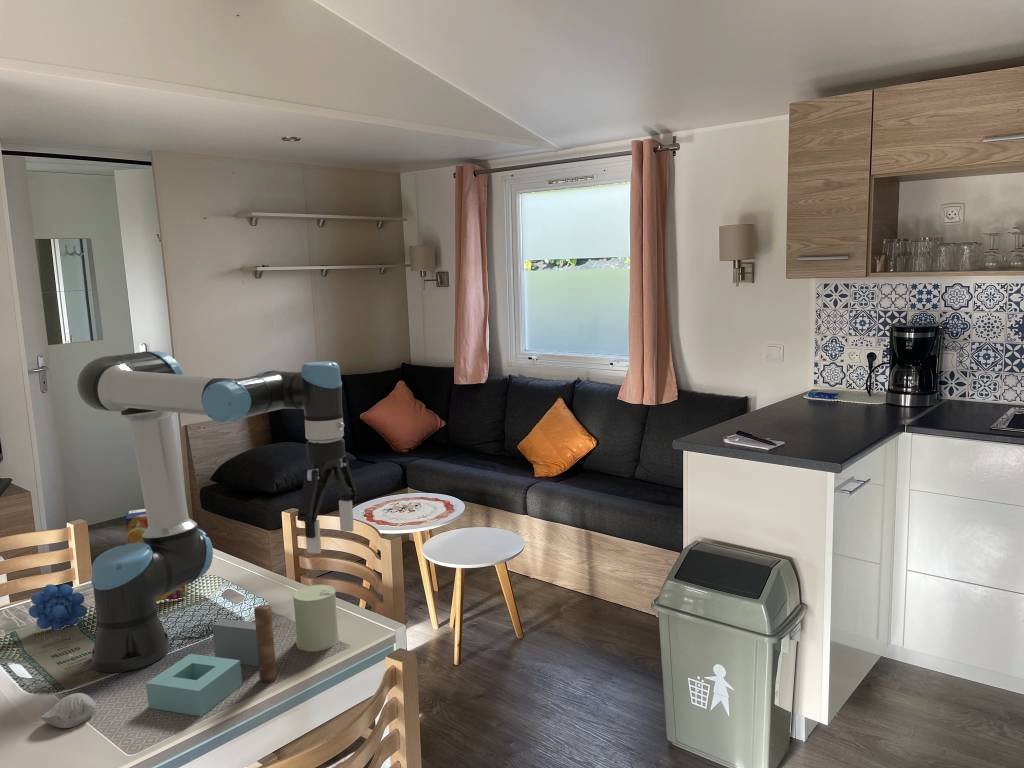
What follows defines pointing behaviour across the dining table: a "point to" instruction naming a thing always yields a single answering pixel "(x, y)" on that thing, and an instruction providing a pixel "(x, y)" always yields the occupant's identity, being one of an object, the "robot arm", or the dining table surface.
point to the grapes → (57, 607)
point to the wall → (236, 641)
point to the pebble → (70, 711)
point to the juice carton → (135, 529)
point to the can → (315, 617)
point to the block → (194, 684)
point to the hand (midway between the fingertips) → (331, 541)
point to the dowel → (265, 643)
